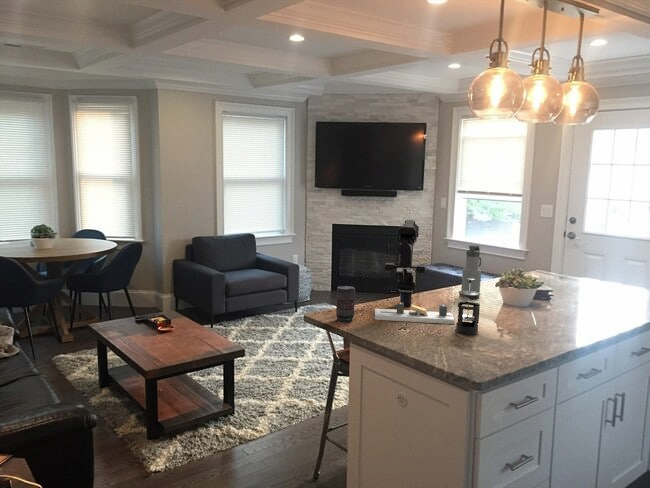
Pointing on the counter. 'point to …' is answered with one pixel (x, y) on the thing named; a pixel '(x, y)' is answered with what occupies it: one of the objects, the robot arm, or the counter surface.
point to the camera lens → (345, 304)
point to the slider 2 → (443, 310)
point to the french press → (468, 327)
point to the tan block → (418, 309)
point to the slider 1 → (400, 307)
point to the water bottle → (472, 270)
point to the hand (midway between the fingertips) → (404, 286)
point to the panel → (413, 316)
